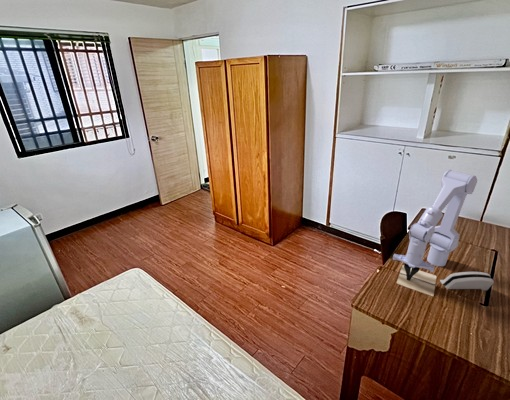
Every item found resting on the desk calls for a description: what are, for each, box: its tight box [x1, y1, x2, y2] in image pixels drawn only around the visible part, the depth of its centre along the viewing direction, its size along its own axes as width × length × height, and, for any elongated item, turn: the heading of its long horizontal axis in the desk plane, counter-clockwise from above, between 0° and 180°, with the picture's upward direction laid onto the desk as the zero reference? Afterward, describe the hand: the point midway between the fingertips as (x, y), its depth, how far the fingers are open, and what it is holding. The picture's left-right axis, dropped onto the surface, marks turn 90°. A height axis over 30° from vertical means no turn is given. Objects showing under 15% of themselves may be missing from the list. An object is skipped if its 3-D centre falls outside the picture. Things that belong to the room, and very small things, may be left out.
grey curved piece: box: [439, 271, 495, 291], centre depth 108 cm, size 17×5×10 cm, turn 89°
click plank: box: [396, 273, 436, 297], centre depth 110 cm, size 7×13×1 cm, turn 55°
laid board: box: [399, 264, 437, 286], centre depth 116 cm, size 7×13×1 cm, turn 55°
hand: (408, 278), depth 113 cm, fingers closed
